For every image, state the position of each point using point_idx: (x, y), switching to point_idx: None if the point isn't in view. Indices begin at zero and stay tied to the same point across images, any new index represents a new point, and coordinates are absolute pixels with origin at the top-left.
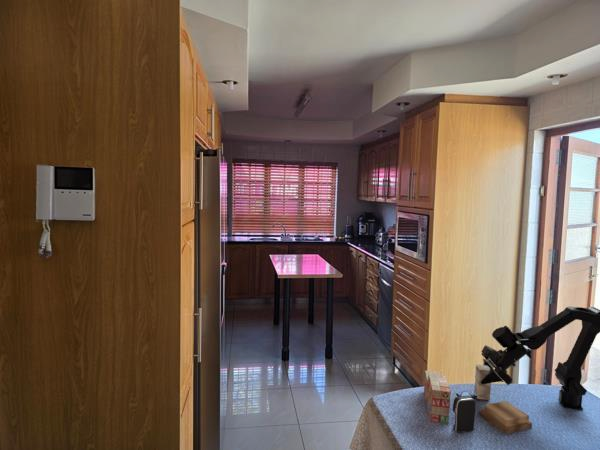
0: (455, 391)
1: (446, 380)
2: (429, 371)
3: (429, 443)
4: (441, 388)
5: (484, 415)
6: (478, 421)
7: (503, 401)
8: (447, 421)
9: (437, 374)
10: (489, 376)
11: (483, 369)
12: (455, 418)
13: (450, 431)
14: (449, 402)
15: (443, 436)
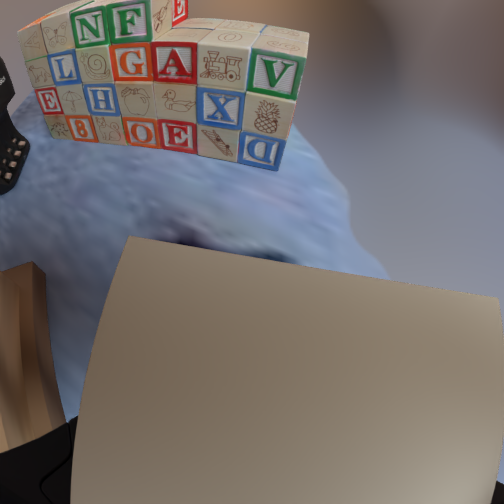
0: (315, 265)
1: (91, 7)
2: (300, 36)
3: (28, 97)
4: (52, 13)
5: (4, 273)
6: (14, 245)
7: (5, 445)
8: (51, 129)
9: (264, 41)
10: (25, 452)
11: (134, 413)
12: (6, 113)
13: (26, 137)
14: (28, 69)
15: (24, 120)
